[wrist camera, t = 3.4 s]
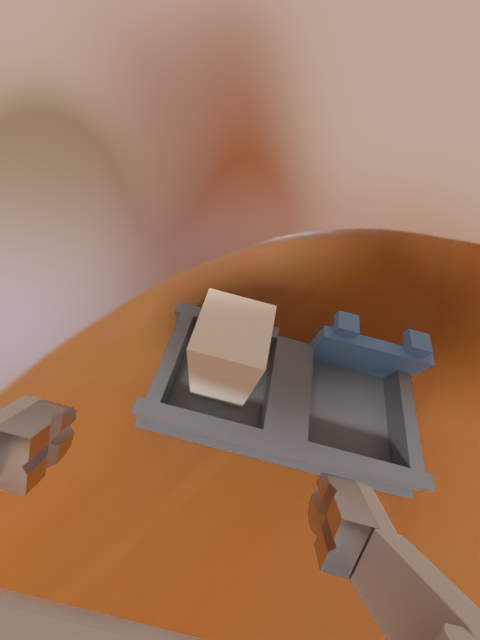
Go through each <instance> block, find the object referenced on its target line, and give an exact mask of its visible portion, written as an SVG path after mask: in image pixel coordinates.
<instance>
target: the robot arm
mask: <svg viewBox="0 0 480 640" xmlns="http://www.w3.org/2000/svg"><path fill="white" fill-rule="evenodd" d="M75 419H76V410H75V409H74V408H73V407H69V406H66V405H62V404H59V403H55V402H52V401H48V400H45V399H44V400H43V399H40V398H37V397H33V396H23V397H21V398H19V399H17V400H16V401H14V402H12V403H10V404H8V405H7V406H5V407H3V408H1V409H0V490H3V491H7V492H12V493H16V494H21V495H26V494H27V493H28V492H29V491H30V490H31V489H32V488H33V487H34V486H35V485H36V484H37V483H38V482H39V481H40V480H41V479H42V478H43V477H44V476H45V472H46V468H48V467H50V466H52V465H55V464H57V463H58V462H59V461H60V460H61V459H62V458H63V457H64V455H65V454H66V452H67V450H68V449H69V447H70V445H71V442H72V440H73V434H74V431H73V429H72V427H71V426H70V424H71V423H72V422H73V421H75ZM317 485H318V490H317V491H315V492H314V493H312V496H311V498H310V501H309V509H308V517H309V524H310V529H311V530H312V531H313V533H314V534H315V535H316V537H317V538H316V541H315V543H314V546H315V551H316V555H317V560H318V564H319V568H320V571H323V572H326V573H330V574H333V575H337V576H340V577H343V578H347V579H350V583H351V584H352V586H353V587H354V589H355V590H356V592H357V594H358V595H359V597H360V598H361V600H362V601H363V603H364V604H365V606H366V608H367V609H368V611H369V612H370V614H371V615H372V617H373V619H374V620H375V622H376V623H377V625H378V626H379V628H380V630H381V631H382V633H383V634H384V636H385V637H386V639H387V640H480V609H479V608H478V607H477V606H476V605H475V604H474V603H473V602H472V601H471V600H470V599H469V598H468V597H467V596H466V595H465V594H464V593H463V592H462V591H461V590H459V589H458V588H457V587H456V586H455V585H454V584H453V583H452V582H451V581H450V580H449V579H448V578H447V577H446V576H445V575H444V574H443V573H442V572H441V571H440V570H439V569H437V568H436V567H435V566H434V565H433V564H432V563H431V562H430V561H429V560H428V559H427V558H426V557H425V556H424V555H423V554H422V553H421V552H420V551H419V550H418V549H417V548H415V547H414V546H413V545H412V544H411V543H410V542H409V541H408V540H407V539H406V538H405V537H404V536H401V535H398V533H397V532H396V530H395V528H394V526H393V524H392V522H391V521H390V519H389V517H388V515H387V513H386V511H385V510H384V508H383V506H382V504H381V502H380V500H379V499H378V497H377V495H376V493H375V491H374V490H373V488H372V486H371V485H370V484H368V483H365V482H361V481H356V480H350V479H346V478H342V477H338V476H334V475H330V474H327V473H323V472H322V473H321V474H320V476H319V478H318V480H317ZM0 640H207V639H203V638H199V637H195V636H191V635H187V634H183V633H179V632H175V631H171V630H167V629H163V628H159V627H155V626H151V625H147V624H143V623H139V622H135V621H131V620H127V619H123V618H119V617H115V616H111V615H107V614H103V613H99V612H95V611H91V610H87V609H83V608H79V607H75V606H71V605H67V604H63V603H59V602H55V601H51V600H47V599H43V598H39V597H35V596H31V595H27V594H23V593H19V592H15V591H11V590H7V589H3V588H0Z"/></svg>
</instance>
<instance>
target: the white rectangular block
mask: <svg viewBox="0 0 480 640" xmlns="http://www.w3.org/2000/svg"><path fill="white" fill-rule="evenodd" d="M276 308H277V306H276V305H272V304H268V303H264V302H261V301H257V300H253V299H249V298H245V297H242V296H238V295H234V294H230V293H227V292H223V291H219V290H215V289H211V288H209V290H208V293H207V295H206V298H205V301H204V303H203V306H202V309H201V311H200V314H199V317H198V320H197V322H196V325H195V328H194V330H193V333H192V336H191V338H190V341H189V344H188V346H187V349H186V350H187V362H188V374H189V386H190V394H191V395H195V396H199V397H203V398H206V399H210V400H214V401H218V402H222V403H225V404H229V405H233V406H237V407H241V408H242V406H243V405H244V403H245V402H246V400H247V399H248V397H249V396H250V394H251V392H252V391H253V389H254V388H255V386H256V385H257V383H258V382H259V380H260V378H261V377H262V375H263V374H264V372H265V371H266V366H267V360H268V354H269V348H270V343H271V337H272V331H273V325H274V320H275V314H276Z"/></svg>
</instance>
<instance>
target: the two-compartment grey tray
mask: <svg viewBox="0 0 480 640" xmlns="http://www.w3.org/2000/svg"><path fill="white" fill-rule="evenodd" d="M201 309H202V307H199V306H195V305H191V304H187V303H184V302H180V301H179V304H178V306H177V308H176V311H175V313H176V320H177V324H176V327H175V329H174V331H173V334H172V336H171V338H170V341H169V343H168V346H167V348H166V350H165V353H164V355H163V357H162V360H161V362H160V364H159V367H158V369H157V372H156V374H155V376H154V379H153V381H152V383H151V386H150V388H149V391H148V393H147V395H146V398H142V397H137V399H136V402H135V404H134V406H133V409H132V411H131V412H132V413H133V414H134V415H135V416H136V417H137V420H136V422H135V425H134V426H135V427H137V428H139V429H143V430H147V431H151V432H155V433H158V434H162V435H166V436H170V437H174V438H177V439H181V440H185V441H189V442H193V443H197V444H200V445H204V446H208V447H212V448H216V449H219V450H223V451H227V452H231V453H235V454H238V455H242V456H246V457H250V458H254V459H258V460H261V461H265V462H269V463H273V464H277V465H280V466H284V467H288V468H292V469H296V470H300V471H303V472H307V473H311V474H315V475H319V476H320V474H321V473H322V472H323V473H327V474H330V475H334V476H338V477H342V478H346V479H350V480H356V481H361V482H365V483H368V484H370V485H371V486H372V488H373V490H376V491H380V492H383V493H387V494H391V495H395V496H399V497H403V498H409V499H414V493H413V491H429V492H436V491H435V485H434V479H433V474H431V473H427V472H425V467H424V460H423V454H422V448H421V441H420V435H419V428H418V422H417V416H416V409H415V403H414V396H413V390H412V384H411V377H412V376H414V375H416V374H419V373H421V372H423V371H425V370H427V369H429V368H431V367H434V366H435V361H434V357H433V354H432V353H433V348H432V344H431V339H430V335H429V334H427V333H424V332H420V331H416V330H412V329H408V330H406V331H405V332H403V333H402V338H403V345H404V346H402V345H398V344H395V343H391V342H387V341H383V340H380V339H376V338H372V337H368V336H365V335H361V334H360V322H359V315H356V314H352V313H348V312H344V311H341V310H338V311H337V313H336V314H335V315H334V327H331V326H327V325H324V327H323V328H322V329H321V330H320V331H319V332H318V334H317V335H316V336H315V337H314V338H313V340H312V341H311V342H310V343H305V342H302V341H298V340H294V339H290V338H287V337H283V336H279V335H278V334H279V328H278V327H274V326H273V331H272V337H271V343H270V348H269V354H268V360H267V366H266V371H265V372H264V374H263V375H262V377H261V378H260V380H259V382H258V383H257V385H256V386H255V388H254V389H253V391H252V392H251V394H250V396H249V397H248V399H247V400H246V402H245V403H244V405H243V406H242V408H241V407H237V406H233V405H229V404H225V403H222V402H218V401H214V400H210V399H206V398H203V397H199V396H195V395H191V394H190V386H189V374H188V362H187V350H186V349H187V346H188V344H189V341H190V338H191V336H192V333H193V330H194V328H195V325H196V322H197V320H198V317H199V314H200V311H201Z"/></svg>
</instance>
